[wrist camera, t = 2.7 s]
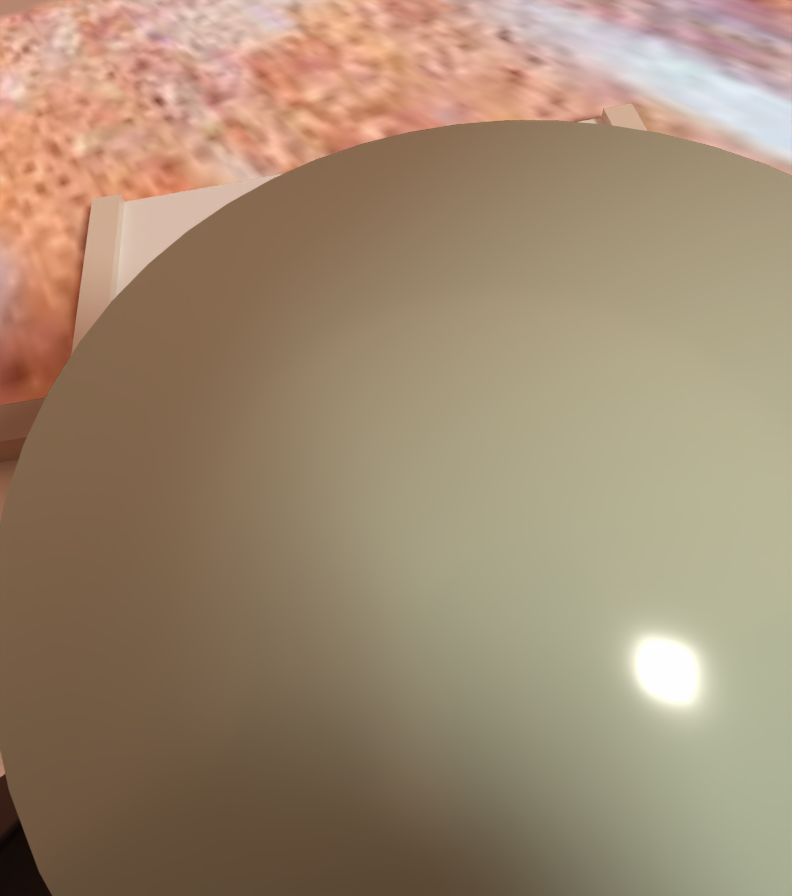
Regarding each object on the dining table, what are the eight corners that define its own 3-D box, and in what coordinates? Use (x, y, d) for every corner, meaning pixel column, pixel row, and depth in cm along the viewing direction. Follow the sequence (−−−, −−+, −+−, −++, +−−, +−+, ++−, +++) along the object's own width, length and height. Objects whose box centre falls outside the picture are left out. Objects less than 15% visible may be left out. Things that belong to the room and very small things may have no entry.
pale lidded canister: (547, 912, 14) (1266, 1944, 2) (300, 766, 16) (-258, 721, 3) (631, 640, 16) (1149, 234, 4) (411, 543, 18) (320, 63, 6)
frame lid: (743, 340, 21) (756, 321, 20) (75, 458, 21) (59, 444, 20) (625, 125, 26) (631, 103, 26) (104, 218, 27) (92, 198, 26)
